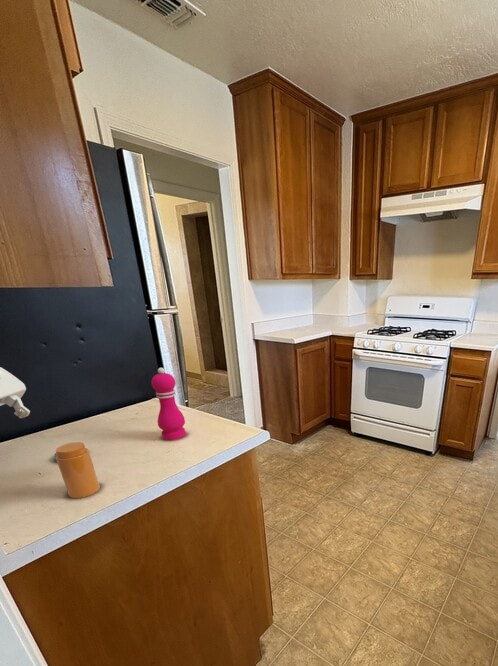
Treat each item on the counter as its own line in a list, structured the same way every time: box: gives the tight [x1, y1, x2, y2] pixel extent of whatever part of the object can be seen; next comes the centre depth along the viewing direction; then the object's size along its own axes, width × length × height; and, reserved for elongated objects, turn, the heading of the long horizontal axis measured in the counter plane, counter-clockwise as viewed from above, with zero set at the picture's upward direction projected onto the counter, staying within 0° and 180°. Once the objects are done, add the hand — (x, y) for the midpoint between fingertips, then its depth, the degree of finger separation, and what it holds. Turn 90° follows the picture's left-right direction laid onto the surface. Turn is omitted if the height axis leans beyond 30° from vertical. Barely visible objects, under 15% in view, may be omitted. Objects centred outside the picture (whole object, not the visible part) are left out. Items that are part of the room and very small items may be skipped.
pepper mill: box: [151, 367, 186, 441], centre depth 98 cm, size 7×7×20 cm
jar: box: [55, 441, 100, 499], centre depth 73 cm, size 6×6×10 cm
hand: (6, 423), depth 70 cm, fingers open, 8 cm apart
